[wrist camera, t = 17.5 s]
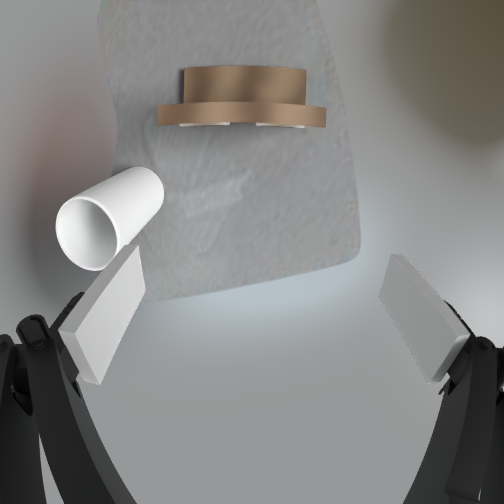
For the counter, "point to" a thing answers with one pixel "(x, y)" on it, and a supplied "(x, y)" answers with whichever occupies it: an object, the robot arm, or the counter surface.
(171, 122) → the label board
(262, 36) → the counter surface
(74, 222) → the cup
